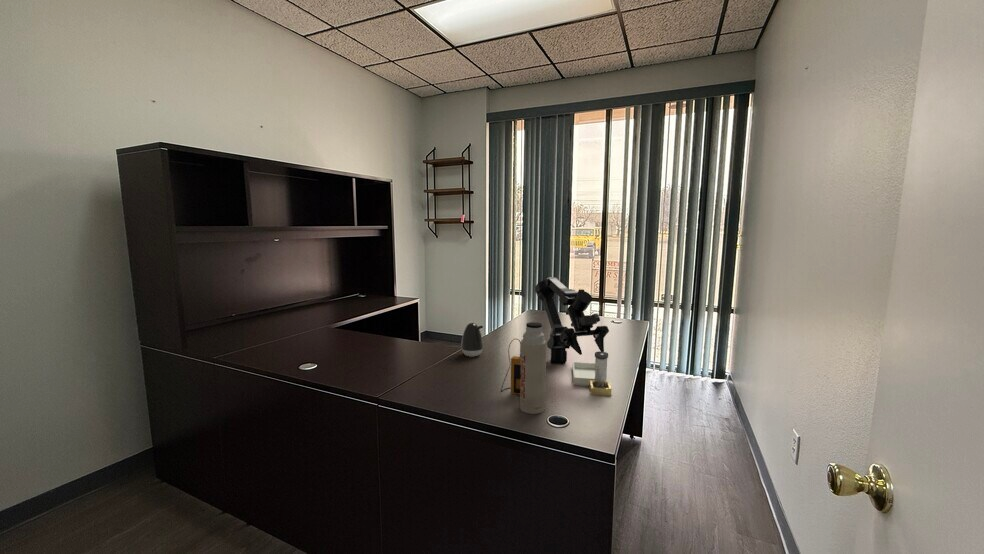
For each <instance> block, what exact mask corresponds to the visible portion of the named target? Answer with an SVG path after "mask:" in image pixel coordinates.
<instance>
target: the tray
mask: <svg viewBox="0 0 984 554" xmlns="http://www.w3.org/2000/svg"><path fill="white" fill-rule="evenodd" d="M571 363H572V367H571V369H572V381H573V386H579V387H590V381H595V362H586V361H585V362H583V361H581V362H580V361H572V362H571Z"/></svg>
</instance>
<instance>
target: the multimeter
mask: <svg viewBox="0 0 984 554" xmlns="http://www.w3.org/2000/svg"><path fill="white" fill-rule="evenodd" d="M514 340H517V341H519V343H520V345H519V346H520V348H519V349H520V350H519V356H518V355H517V356H516V355H514V356H512V357H511V358H510V356H508V361H509V363H510V365H509V367H508V369H507V372H506V375H505V377H504V380H503V383H502V385H501V388H500V392H503V391H505V390H508V389H510V394H511V395H519V396H520V380H521V340H520V339H519V338H513V339H512V340H511V341H510V343H509V345H508V349H507V350H508V351H507V352H508V355H510V347H511V344H512V343H513V342H514ZM509 371H510V387H507V388H504V389H503V387H504V384H505V381H506V378H507V376H508V373H509Z"/></svg>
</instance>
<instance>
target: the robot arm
mask: <svg viewBox="0 0 984 554" xmlns="http://www.w3.org/2000/svg"><path fill="white" fill-rule="evenodd" d="M534 292H535V294H536V295H537V298H538V299H539V300H540V301H541V302H542V303H543V306H544V309H545V313H546V316H547V319H548V322H549V325H550V329H551V330H550V333H549V339H548V340H547V341H546V348H548V349H550V364H556V365H557V364H560V365H566V362H567V361H568V353H567V352H568V351H567V350H568V349H570V348H572V349H573V350H574V351H575V352H576V353H578V355H579V356H582V354H583V353H582V349H581V347H580V343H579V341H578V337H586V336H588V337H589V336H593V338H594V342H595V344H596V346H597V347H598V350H599V352H605V342H604V341H605V338H606V335H608V333H609V332H610V330H609V328H608V326H607V325H597V326H596V327H595V329H592V328H593V327H594V325H596V324H598V323H599V322H601V317H600V315H599V313H593V314H591V315H585V311H586V310H587V309H588V307H589V305H590V304H591V303H592V301H593V296H592V295H591V294H590V293H589V292H587V291H585V289H583V288H581V289H580V288H579V289H578V291H577V290H575V289H571V288H569V287H567V286H565V285H564V283H562V282H561V281H560V280H559V279H558V278H557V277H554V276H553V277H552V276H551V277H546V278H545V279H544V280H543V279H542V281H539V282H537V284H536V285H535V287H534ZM555 294H556V295H557V296H558V301H559V302H560V303H561V305H562V306H568V307H567V308H566V311H565V316H567V315H568V316H569V319H570V322H571V323H570V327H569V328H568V326H564V325H563V324H562V322H561V318H560V314H559V312H558V309H557V307H556V306H557V305H556V303H555V299H554V297H555V296H554V295H555ZM566 349H567V350H566Z"/></svg>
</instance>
